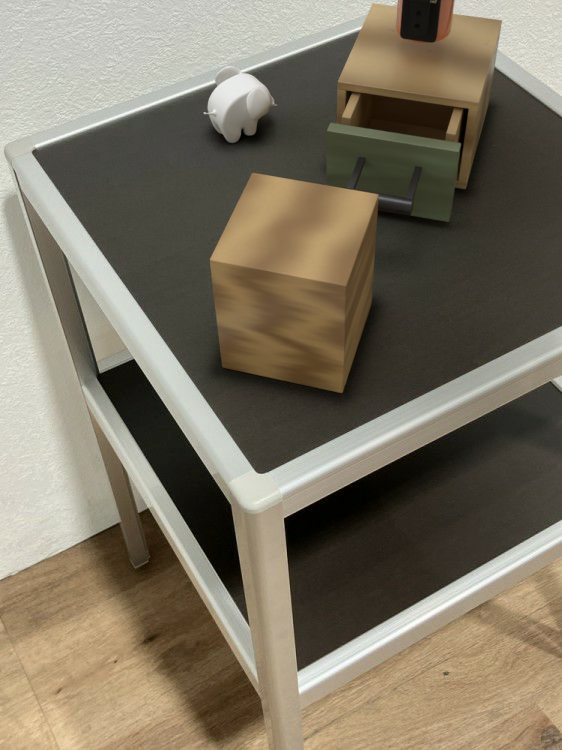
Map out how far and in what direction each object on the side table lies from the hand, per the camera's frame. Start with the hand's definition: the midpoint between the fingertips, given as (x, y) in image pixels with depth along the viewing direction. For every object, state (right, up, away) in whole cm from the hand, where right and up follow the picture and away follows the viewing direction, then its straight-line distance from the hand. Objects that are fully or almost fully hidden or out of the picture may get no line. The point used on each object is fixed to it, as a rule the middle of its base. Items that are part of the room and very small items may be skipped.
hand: (424, 19), depth 86 cm
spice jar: (0, 0, +1) cm, 1 cm away
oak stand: (-11, -28, -7) cm, 31 cm away
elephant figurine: (-17, -7, +11) cm, 22 cm away
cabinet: (0, -8, +10) cm, 13 cm away
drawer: (-2, -14, +3) cm, 15 cm away
